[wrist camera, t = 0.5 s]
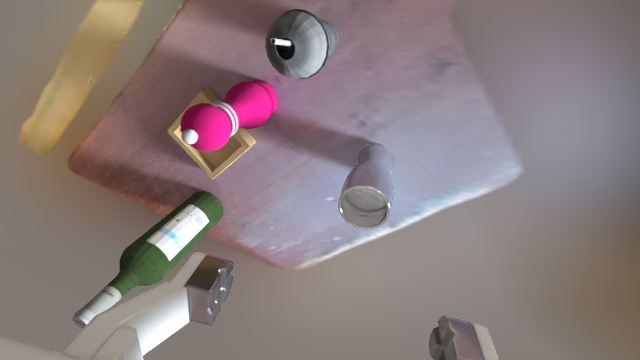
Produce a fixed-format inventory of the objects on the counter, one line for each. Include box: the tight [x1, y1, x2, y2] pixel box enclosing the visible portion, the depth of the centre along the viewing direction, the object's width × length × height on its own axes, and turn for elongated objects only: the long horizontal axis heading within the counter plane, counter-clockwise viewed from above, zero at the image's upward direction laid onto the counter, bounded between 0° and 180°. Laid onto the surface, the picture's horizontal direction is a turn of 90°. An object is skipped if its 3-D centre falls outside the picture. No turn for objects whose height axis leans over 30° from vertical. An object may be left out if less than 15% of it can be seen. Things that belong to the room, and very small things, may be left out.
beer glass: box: [338, 144, 394, 229], centre depth 44 cm, size 7×7×15 cm
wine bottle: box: [72, 191, 223, 328], centre depth 53 cm, size 8×8×30 cm
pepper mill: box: [180, 80, 278, 152], centre depth 42 cm, size 7×7×20 cm
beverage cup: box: [266, 9, 339, 79], centre depth 35 cm, size 7×7×20 cm
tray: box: [167, 88, 256, 180], centre depth 55 cm, size 12×12×2 cm
